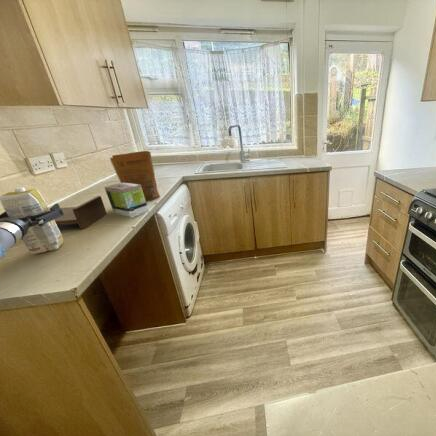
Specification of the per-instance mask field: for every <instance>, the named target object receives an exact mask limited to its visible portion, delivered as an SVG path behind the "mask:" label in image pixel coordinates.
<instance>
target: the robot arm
mask: <svg viewBox="0 0 436 436" xmlns="http://www.w3.org/2000/svg"><path fill="white" fill-rule="evenodd" d="M60 208H61V206H60V205H59V203H54V204H53V205H52V206H51V207H50V208H48V209H49V211H46V212H43V213H40V214H37V215H34V216H33V215H29V216H26V217H23V218H11V217H9V216H8V215H7V213H6V211H5V210H4V211H3V212H1V214H0V259H2V258H3V257H4V256H5V255H6V254H7V252H9V251H10V250H11V249H12V248H13V247H14V246H15V245H16V244H17V243H19V242H20V241H21V240H22V238H23V237H24V236H25V235H26V234H27V232H28V229H29V227H32V226H35V225H37V224H38V225H39V226H43V225H44V224H46V223H48V222H50V221H52V220H54V219H56V218H59V217H61V216H63V215H64V213H63V211H62V209H60ZM28 218H30V220H29V219H28Z"/></svg>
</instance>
